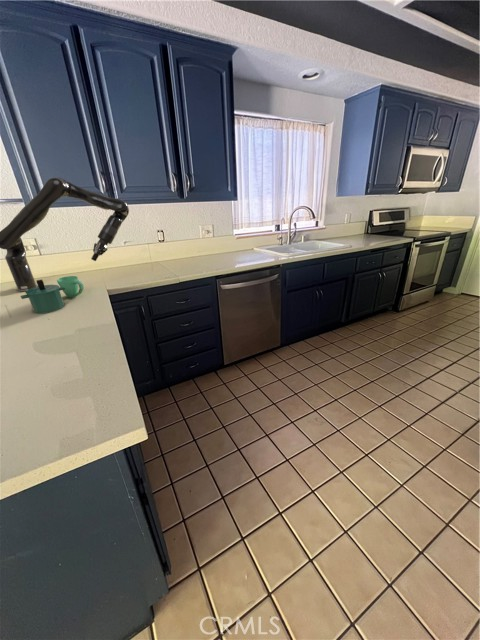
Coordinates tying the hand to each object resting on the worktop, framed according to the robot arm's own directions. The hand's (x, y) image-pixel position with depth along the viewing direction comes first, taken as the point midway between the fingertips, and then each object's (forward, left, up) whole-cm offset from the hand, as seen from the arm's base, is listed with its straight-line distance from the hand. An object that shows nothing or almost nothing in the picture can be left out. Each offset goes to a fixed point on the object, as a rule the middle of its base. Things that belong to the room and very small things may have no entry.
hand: (93, 260), depth 149 cm
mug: (+1, -14, -18) cm, 23 cm away
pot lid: (+9, -28, -8) cm, 31 cm away
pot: (+9, -28, -18) cm, 35 cm away
